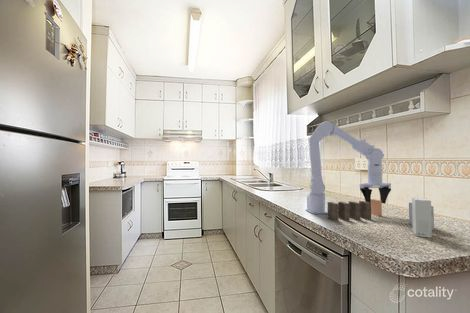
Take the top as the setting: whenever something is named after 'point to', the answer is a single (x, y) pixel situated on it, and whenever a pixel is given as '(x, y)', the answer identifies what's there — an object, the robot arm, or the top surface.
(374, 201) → the peach block
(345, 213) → the dark tile
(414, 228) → the skincare box
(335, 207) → the dark tile
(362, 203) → the domino block
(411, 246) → the top surface
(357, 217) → the dark tile
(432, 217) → the medicine box
